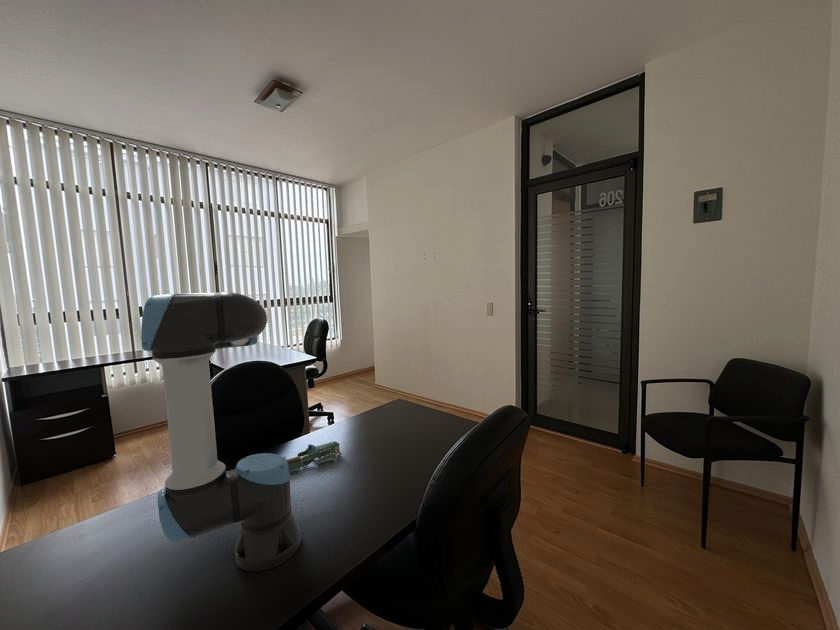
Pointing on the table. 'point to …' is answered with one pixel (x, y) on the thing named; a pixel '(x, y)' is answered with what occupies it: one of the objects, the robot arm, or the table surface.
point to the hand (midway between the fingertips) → (201, 430)
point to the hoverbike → (314, 456)
